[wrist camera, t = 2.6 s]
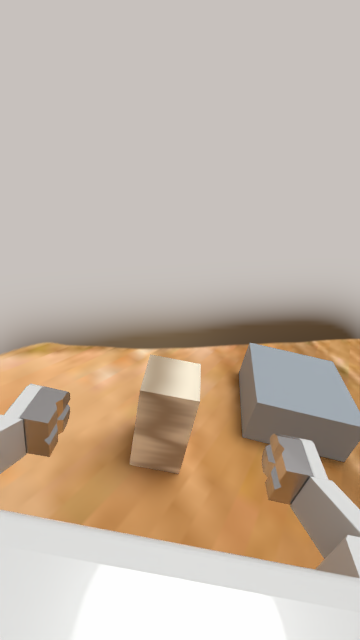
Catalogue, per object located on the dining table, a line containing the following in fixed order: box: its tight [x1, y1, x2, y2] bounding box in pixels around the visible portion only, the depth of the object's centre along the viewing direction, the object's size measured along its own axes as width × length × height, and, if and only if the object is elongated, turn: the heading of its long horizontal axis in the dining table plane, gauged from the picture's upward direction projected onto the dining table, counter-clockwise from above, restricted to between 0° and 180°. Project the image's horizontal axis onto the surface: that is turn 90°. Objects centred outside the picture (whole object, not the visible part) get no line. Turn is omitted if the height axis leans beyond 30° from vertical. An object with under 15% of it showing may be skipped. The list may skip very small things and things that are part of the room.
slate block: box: [239, 343, 360, 462], centre depth 38 cm, size 12×12×6 cm
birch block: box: [129, 355, 201, 474], centre depth 28 cm, size 5×5×10 cm
